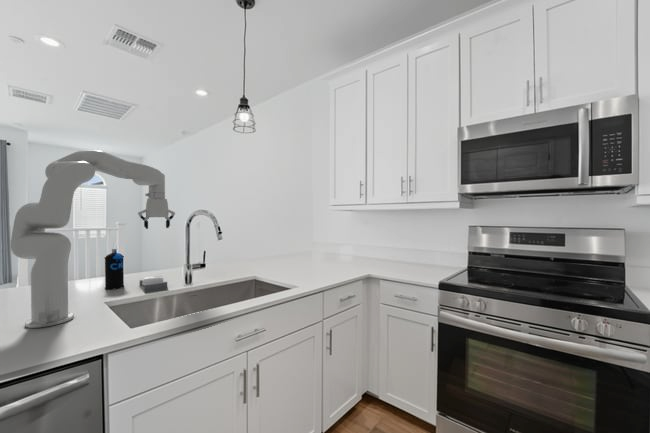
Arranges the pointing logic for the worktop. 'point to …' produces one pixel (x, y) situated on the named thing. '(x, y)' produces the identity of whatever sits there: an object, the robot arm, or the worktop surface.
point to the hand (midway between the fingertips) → (157, 228)
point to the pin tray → (153, 286)
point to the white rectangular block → (152, 280)
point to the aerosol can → (114, 271)
